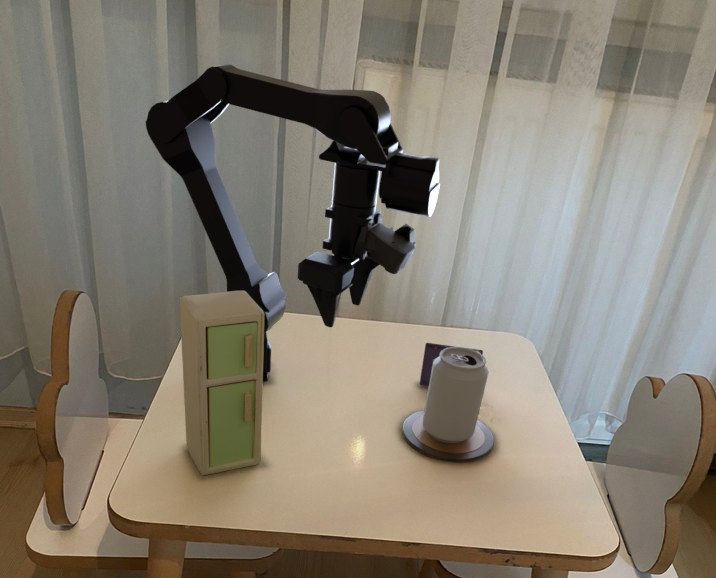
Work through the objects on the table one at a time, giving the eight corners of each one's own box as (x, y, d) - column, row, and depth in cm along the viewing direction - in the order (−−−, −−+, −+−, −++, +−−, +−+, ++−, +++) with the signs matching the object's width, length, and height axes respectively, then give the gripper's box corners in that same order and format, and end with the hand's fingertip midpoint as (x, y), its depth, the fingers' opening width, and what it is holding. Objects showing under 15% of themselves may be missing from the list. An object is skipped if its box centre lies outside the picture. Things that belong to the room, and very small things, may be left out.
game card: (426, 343, 110) (483, 350, 110) (424, 339, 115) (479, 347, 115) (419, 385, 112) (476, 393, 112) (418, 380, 117) (472, 388, 117)
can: (479, 446, 99) (498, 369, 92) (427, 446, 97) (443, 368, 90) (465, 417, 105) (481, 343, 98) (416, 417, 103) (429, 342, 96)
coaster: (414, 463, 95) (415, 459, 94) (393, 412, 105) (393, 408, 105) (505, 461, 98) (506, 457, 97) (476, 411, 108) (477, 408, 108)
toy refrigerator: (201, 480, 87) (198, 321, 75) (184, 448, 92) (178, 294, 80) (263, 468, 90) (268, 314, 78) (243, 437, 96) (245, 289, 84)
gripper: (385, 233, 82) (369, 355, 91) (436, 199, 96) (418, 307, 105) (299, 212, 85) (292, 332, 94) (360, 183, 99) (350, 289, 108)
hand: (343, 315), depth 100 cm, fingers open, 9 cm apart
